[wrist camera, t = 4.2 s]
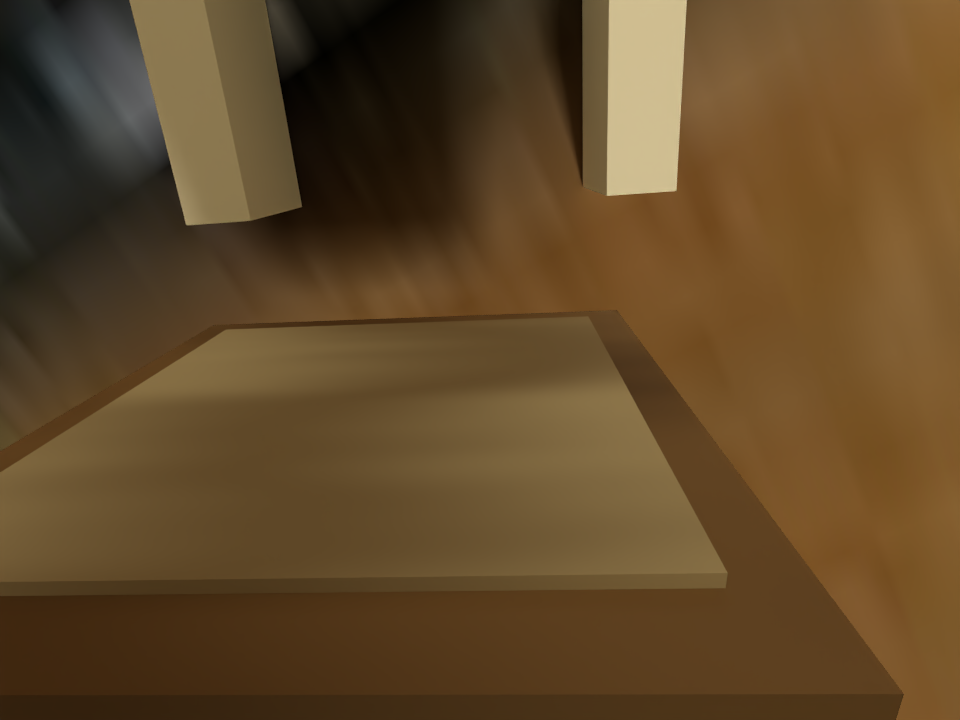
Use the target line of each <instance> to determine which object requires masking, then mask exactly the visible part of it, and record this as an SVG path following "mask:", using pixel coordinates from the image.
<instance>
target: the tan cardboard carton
mask: <svg viewBox="0 0 960 720" xmlns="http://www.w3.org/2000/svg"><path fill="white" fill-rule="evenodd" d="M903 695H904V694H903V692H902V691H901V690H900V688H899V687H898V686H897V684H896V683H895V682H894V680H893V679H892V678H891V676H890V675H889V674H888V672H887V671H886V670H885V668H884V667H883V666H882V664H881V663H880V662H879V660H878V659H877V658H876V656H875V655H874V654H873V652H872V651H871V650H870V648H869V647H868V646H867V644H866V643H865V642H864V640H863V639H862V638H861V636H860V635H859V634H858V632H857V631H856V629H855V628H854V627H853V625H852V624H851V623H850V621H849V620H848V619H847V617H846V616H845V615H844V613H843V612H842V611H841V609H840V608H839V607H838V605H837V604H836V603H835V601H834V600H833V599H832V597H831V596H830V595H829V593H828V592H827V591H826V589H825V588H824V587H823V585H822V584H821V583H820V581H819V580H818V579H817V577H816V576H815V575H814V573H813V572H812V571H811V569H810V568H809V567H808V565H807V564H806V563H805V561H804V560H803V559H802V557H801V556H800V555H799V553H798V552H797V551H796V549H795V548H794V547H793V545H792V544H791V543H790V541H789V540H788V539H787V537H786V536H785V535H784V533H783V532H782V531H781V529H780V528H779V527H778V525H777V524H776V523H775V521H774V520H773V519H772V517H771V516H770V515H769V513H768V512H767V511H766V509H765V508H764V507H763V505H762V504H761V502H760V501H759V500H758V498H757V497H756V496H755V494H754V493H753V492H752V490H751V489H750V488H749V486H748V485H747V484H746V482H745V481H744V480H743V478H742V477H741V476H740V474H739V473H738V472H737V470H736V469H735V468H734V466H733V465H732V464H731V462H730V461H729V460H728V458H727V457H726V456H725V454H724V453H723V452H722V450H721V449H720V448H719V446H718V445H717V444H716V442H715V441H714V440H713V438H712V437H711V436H710V434H709V433H708V432H707V430H706V429H705V428H704V426H703V425H702V424H701V422H700V421H699V420H698V418H697V417H696V416H695V414H694V413H693V412H692V410H691V409H690V408H689V406H688V405H687V404H686V402H685V401H684V400H683V398H682V397H681V396H680V394H679V393H678V392H677V390H676V389H675V388H674V386H673V385H672V384H671V382H670V381H669V379H668V378H667V377H666V375H665V374H664V373H663V371H662V370H661V369H660V367H659V366H658V365H657V363H656V362H655V361H654V359H653V358H652V357H651V355H650V354H649V353H648V351H647V350H646V349H645V347H644V346H643V345H642V343H641V342H640V341H639V339H638V338H637V337H636V335H635V334H634V333H633V331H632V330H631V329H630V327H629V326H628V325H627V323H626V322H625V321H624V319H623V318H622V317H621V315H620V314H619V313H618V311H617V310H612V311H585V312H558V313H531V314H503V315H476V316H449V317H422V318H395V319H367V320H340V321H313V322H286V323H259V324H231V325H213V326H212V327H210V328H208V329H206V330H205V331H203V332H201V333H200V334H198V335H196V336H195V337H193V338H191V339H190V340H188V341H186V342H184V343H183V344H181V345H179V346H178V347H176V348H174V349H173V350H171V351H169V352H168V353H166V354H164V355H162V356H161V357H159V358H157V359H156V360H154V361H152V362H151V363H149V364H147V365H146V366H144V367H142V368H140V369H139V370H137V371H135V372H134V373H132V374H130V375H129V376H127V377H125V378H124V379H122V380H120V381H118V382H117V383H115V384H113V385H112V386H110V387H108V388H107V389H105V390H103V391H102V392H100V393H98V394H97V395H95V396H93V397H91V398H90V399H88V400H86V401H85V402H83V403H81V404H80V405H78V406H76V407H75V408H73V409H71V410H69V411H68V412H66V413H64V414H63V415H61V416H59V417H58V418H56V419H54V420H53V421H51V422H49V423H47V424H46V425H44V426H42V427H41V428H39V429H37V430H36V431H34V432H32V433H31V434H29V435H27V436H25V437H24V438H22V439H20V440H19V441H17V442H15V443H14V444H12V445H10V446H9V447H7V448H5V449H3V450H2V451H0V720H896V717H897V714H898V711H899V708H900V705H901V701H902V698H903Z"/></svg>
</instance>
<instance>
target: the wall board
mask: <svg viewBox="0 0 960 720" xmlns="http://www.w3.org/2000/svg"><path fill="white" fill-rule="evenodd" d="M129 1H130V5H131V9H132V13H133V17H134V20H135V24H136V28H137V32H138V36H139V40H140V44H141V48H142V52H143V56H144V60H145V64H146V68H147V72H148V76H149V80H150V84H151V88H152V91H153V95H154V99H155V103H156V107H157V111H158V115H159V119H160V123H161V127H162V131H163V135H164V139H165V143H166V147H167V151H168V155H169V159H170V162H171V166H172V170H173V174H174V178H175V182H176V186H177V190H178V194H179V198H180V202H181V206H182V210H183V214H184V218H185V222H186V225H197V224H211V223H226V222H240V221H252V220H255V219H259V218H263V217H267V216H270V215H274V214H278V213H281V212H285V211H289V210H293V209H296V208H300V207H302V204H301V198H300V192H299V187H298V181H297V176H296V170H295V164H294V159H293V153H292V148H291V142H290V136H289V131H288V125H287V120H286V114H285V108H284V103H283V97H282V92H281V86H280V80H279V75H278V69H277V63H276V58H275V52H274V47H273V41H272V35H271V30H270V24H269V19H268V13H267V7H266V2H265V0H129ZM686 3H687V0H582V79H583V187H584V188H587V189H590V190H592V191H595V192H598V193H601V194H603V195H606V196H610V195H625V194H639V193H653V192H667V191H676V187H677V168H678V150H679V131H680V113H681V95H682V76H683V58H684V40H685V21H686Z"/></svg>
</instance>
